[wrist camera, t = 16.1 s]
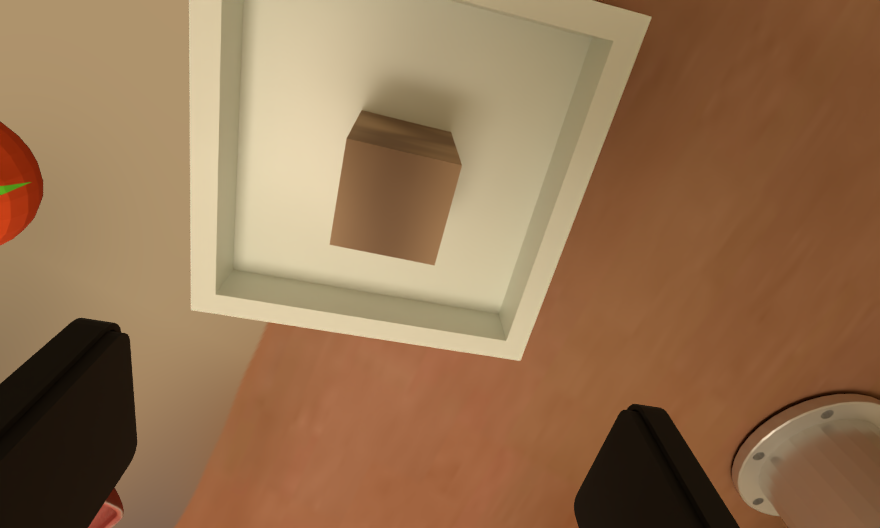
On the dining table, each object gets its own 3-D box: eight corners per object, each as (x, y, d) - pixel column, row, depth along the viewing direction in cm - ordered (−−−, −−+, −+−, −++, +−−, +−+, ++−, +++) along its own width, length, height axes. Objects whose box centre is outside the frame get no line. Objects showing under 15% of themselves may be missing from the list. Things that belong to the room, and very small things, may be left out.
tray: (619, 16, 23) (651, 16, 20) (509, 325, 31) (520, 360, 27) (223, -93, 20) (188, -113, 17) (215, 277, 28) (191, 310, 25)
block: (451, 132, 24) (462, 165, 19) (430, 214, 26) (434, 265, 21) (361, 110, 23) (346, 138, 18) (346, 196, 25) (329, 244, 20)
